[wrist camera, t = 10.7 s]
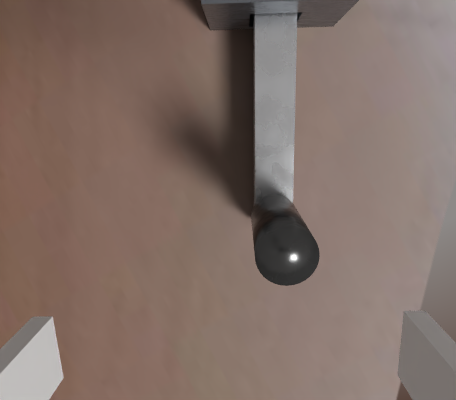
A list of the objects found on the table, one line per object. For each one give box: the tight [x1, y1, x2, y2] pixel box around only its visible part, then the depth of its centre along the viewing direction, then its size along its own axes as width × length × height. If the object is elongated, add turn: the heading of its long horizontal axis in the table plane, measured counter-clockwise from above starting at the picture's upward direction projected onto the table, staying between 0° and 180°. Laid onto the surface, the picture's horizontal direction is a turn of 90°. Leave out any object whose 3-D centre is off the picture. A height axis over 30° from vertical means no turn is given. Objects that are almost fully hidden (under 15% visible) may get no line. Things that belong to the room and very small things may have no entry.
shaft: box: [251, 12, 319, 286], centre depth 28 cm, size 26×4×14 cm, turn 1°
